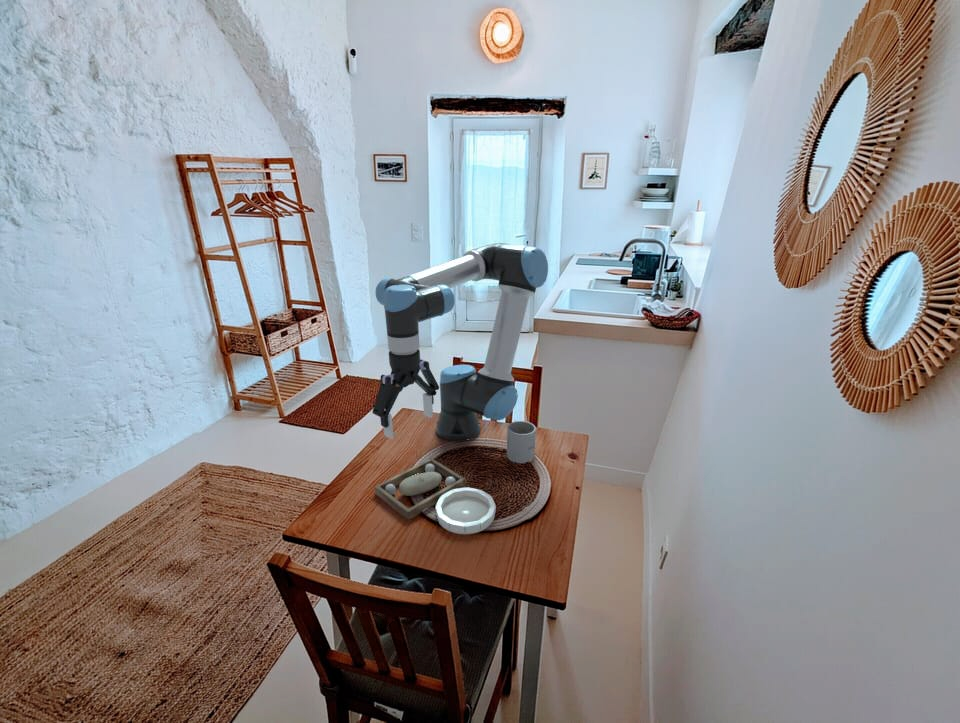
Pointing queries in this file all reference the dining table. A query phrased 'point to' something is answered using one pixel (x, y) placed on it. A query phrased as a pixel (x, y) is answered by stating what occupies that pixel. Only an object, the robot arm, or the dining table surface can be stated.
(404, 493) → the stone
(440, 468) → the parts frame
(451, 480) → the pebble
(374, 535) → the dining table surface
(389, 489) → the pebble
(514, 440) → the mug
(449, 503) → the bowl
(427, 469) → the pale glossy ball
